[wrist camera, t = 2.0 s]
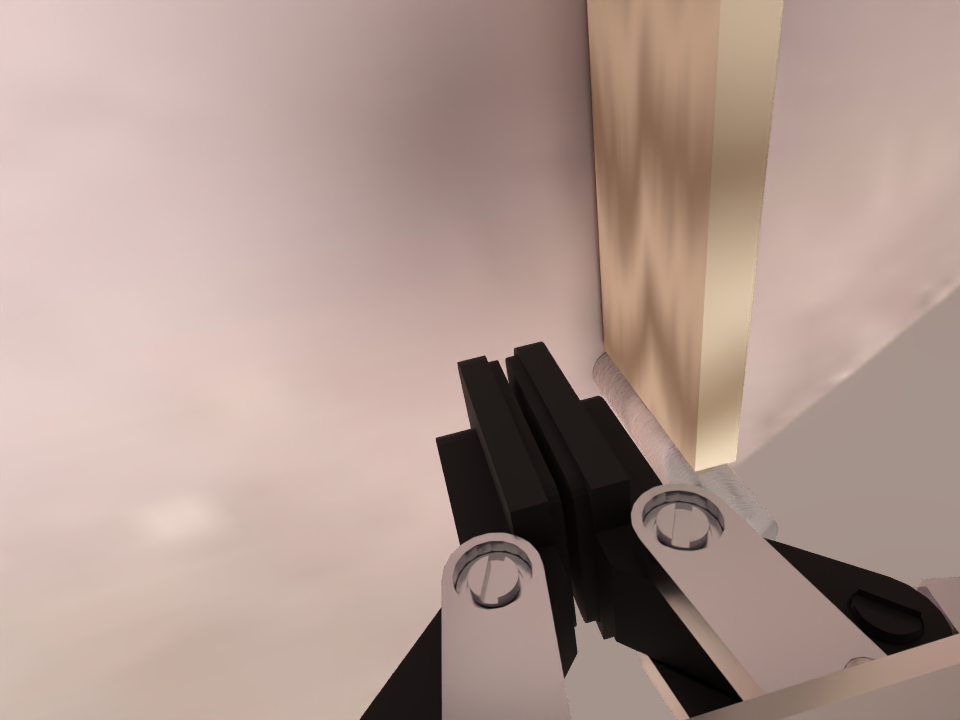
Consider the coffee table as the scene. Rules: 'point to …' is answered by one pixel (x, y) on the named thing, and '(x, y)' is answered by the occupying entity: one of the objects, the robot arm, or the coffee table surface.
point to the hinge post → (677, 451)
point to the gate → (682, 201)
